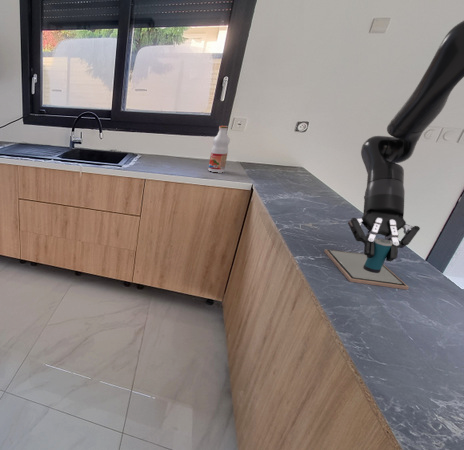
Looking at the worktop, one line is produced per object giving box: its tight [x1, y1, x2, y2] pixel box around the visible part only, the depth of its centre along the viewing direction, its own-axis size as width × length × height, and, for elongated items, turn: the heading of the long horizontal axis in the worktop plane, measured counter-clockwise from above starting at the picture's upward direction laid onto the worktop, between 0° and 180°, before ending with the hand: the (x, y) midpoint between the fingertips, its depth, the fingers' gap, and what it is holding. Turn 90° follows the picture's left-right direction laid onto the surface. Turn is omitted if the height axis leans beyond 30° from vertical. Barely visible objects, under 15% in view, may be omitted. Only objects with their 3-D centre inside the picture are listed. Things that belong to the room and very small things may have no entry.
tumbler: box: [363, 238, 393, 273], centre depth 81 cm, size 3×3×8 cm
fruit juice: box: [207, 125, 230, 174], centre depth 193 cm, size 9×9×28 cm
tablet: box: [324, 248, 410, 291], centre depth 88 cm, size 12×18×1 cm, turn 160°
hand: (380, 258), depth 79 cm, fingers closed on tumbler, 3 cm apart
